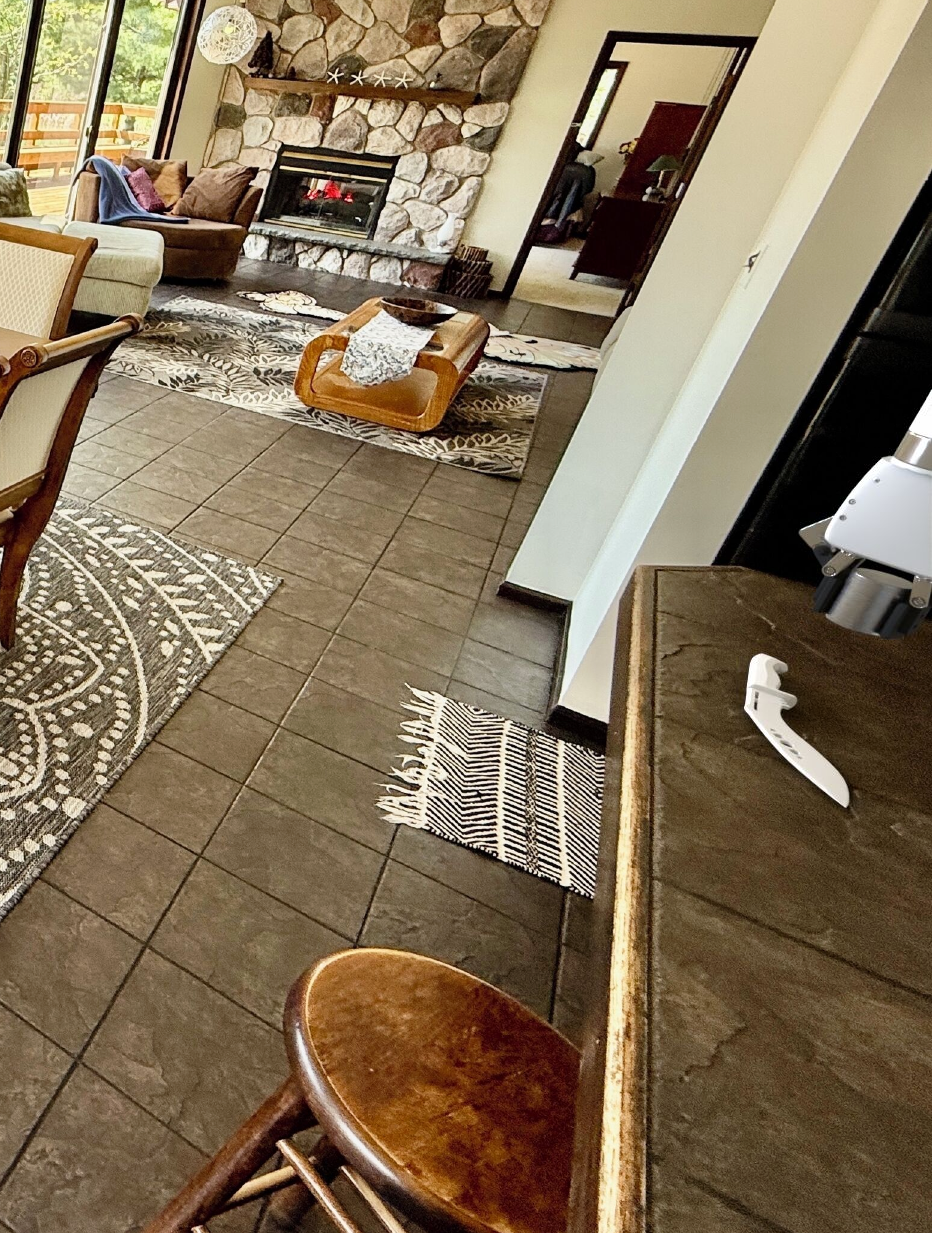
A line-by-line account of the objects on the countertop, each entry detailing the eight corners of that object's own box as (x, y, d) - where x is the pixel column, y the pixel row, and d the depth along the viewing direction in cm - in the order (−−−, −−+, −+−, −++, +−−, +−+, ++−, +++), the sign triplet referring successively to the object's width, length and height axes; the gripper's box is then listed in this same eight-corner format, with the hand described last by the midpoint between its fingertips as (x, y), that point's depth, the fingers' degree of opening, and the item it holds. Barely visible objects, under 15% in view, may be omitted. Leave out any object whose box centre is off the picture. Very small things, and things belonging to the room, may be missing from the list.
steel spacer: (897, 633, 91) (927, 586, 89) (872, 638, 90) (902, 590, 88) (839, 611, 95) (867, 566, 93) (815, 616, 94) (842, 569, 92)
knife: (854, 802, 84) (740, 758, 90) (845, 815, 85) (732, 771, 90) (848, 680, 103) (754, 649, 109) (840, 691, 104) (747, 660, 109)
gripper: (1117, 492, 79) (997, 665, 86) (859, 428, 94) (774, 581, 101) (1075, 497, 77) (955, 674, 84) (817, 431, 92) (733, 587, 99)
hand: (857, 621), depth 93 cm, fingers closed on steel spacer, 4 cm apart
